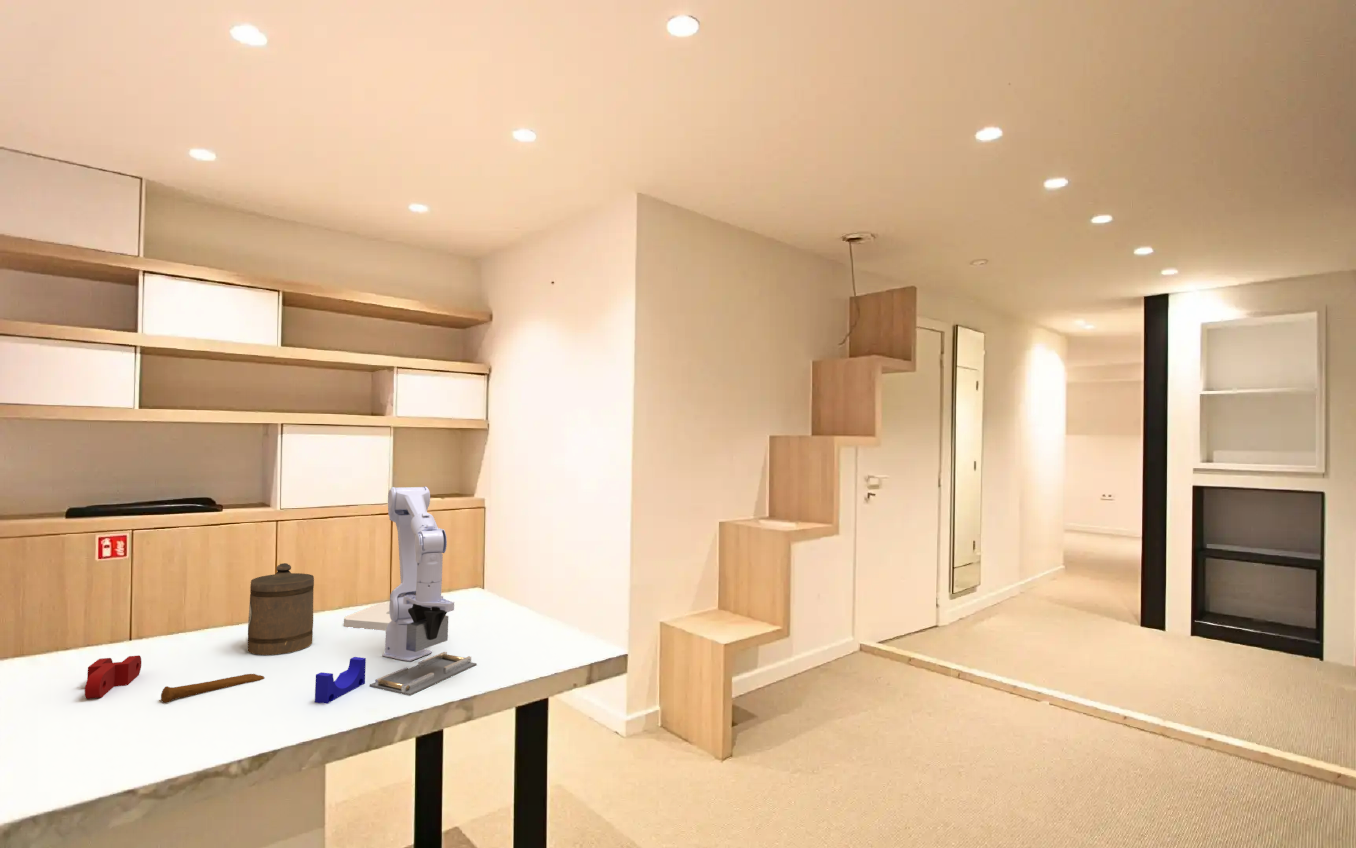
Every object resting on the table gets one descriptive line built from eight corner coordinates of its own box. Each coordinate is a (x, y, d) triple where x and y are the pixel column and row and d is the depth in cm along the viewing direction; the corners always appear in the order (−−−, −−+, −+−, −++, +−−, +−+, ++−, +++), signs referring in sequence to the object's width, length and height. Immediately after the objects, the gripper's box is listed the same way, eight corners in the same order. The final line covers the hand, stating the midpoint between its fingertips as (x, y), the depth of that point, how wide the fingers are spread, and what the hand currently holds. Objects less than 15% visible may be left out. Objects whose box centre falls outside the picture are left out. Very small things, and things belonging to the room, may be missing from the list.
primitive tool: (253, 675, 154) (254, 660, 154) (266, 680, 152) (267, 665, 152) (157, 703, 138) (158, 686, 138) (169, 709, 135) (170, 691, 135)
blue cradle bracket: (347, 682, 151) (348, 656, 151) (364, 684, 150) (365, 658, 150) (308, 702, 139) (309, 674, 140) (326, 704, 138) (328, 676, 139)
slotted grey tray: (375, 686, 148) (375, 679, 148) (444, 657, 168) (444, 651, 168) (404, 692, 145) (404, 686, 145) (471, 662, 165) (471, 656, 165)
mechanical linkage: (102, 677, 150) (103, 655, 150) (140, 674, 153) (141, 652, 153) (69, 704, 135) (70, 680, 135) (112, 699, 138) (114, 676, 138)
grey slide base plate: (369, 686, 148) (369, 684, 148) (439, 657, 169) (439, 656, 169) (409, 695, 144) (410, 693, 144) (476, 665, 164) (476, 663, 164)
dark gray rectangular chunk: (406, 649, 153) (407, 624, 153) (438, 638, 162) (439, 614, 162) (415, 652, 151) (416, 625, 152) (447, 640, 161) (448, 616, 161)
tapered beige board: (338, 628, 193) (338, 618, 194) (383, 609, 215) (384, 601, 215) (406, 633, 190) (407, 624, 190) (445, 614, 211) (445, 605, 212)
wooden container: (276, 636, 183) (279, 557, 183) (324, 640, 180) (327, 560, 181) (232, 653, 168) (236, 567, 168) (285, 658, 166) (288, 570, 166)
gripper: (464, 581, 157) (462, 638, 157) (420, 574, 164) (418, 629, 163) (442, 586, 151) (440, 646, 151) (397, 579, 157) (394, 636, 157)
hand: (427, 637), depth 157 cm, fingers closed on dark gray rectangular chunk, 3 cm apart
